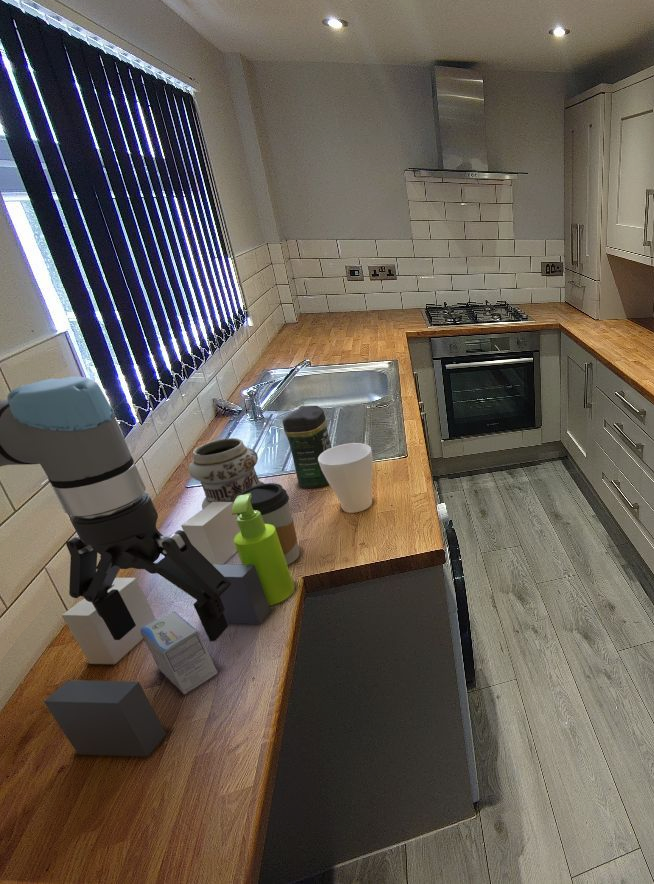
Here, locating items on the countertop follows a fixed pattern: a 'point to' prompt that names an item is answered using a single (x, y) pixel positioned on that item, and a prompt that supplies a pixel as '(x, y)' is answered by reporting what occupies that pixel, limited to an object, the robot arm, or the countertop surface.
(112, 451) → the robot arm
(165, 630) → the medicine box
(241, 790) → the countertop surface
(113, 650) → the white rectangular block
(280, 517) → the coffee cup
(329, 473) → the cup
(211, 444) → the apothecary jar
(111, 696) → the grey block near
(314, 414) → the coffee jar
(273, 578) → the soap dispenser
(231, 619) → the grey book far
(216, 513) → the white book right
